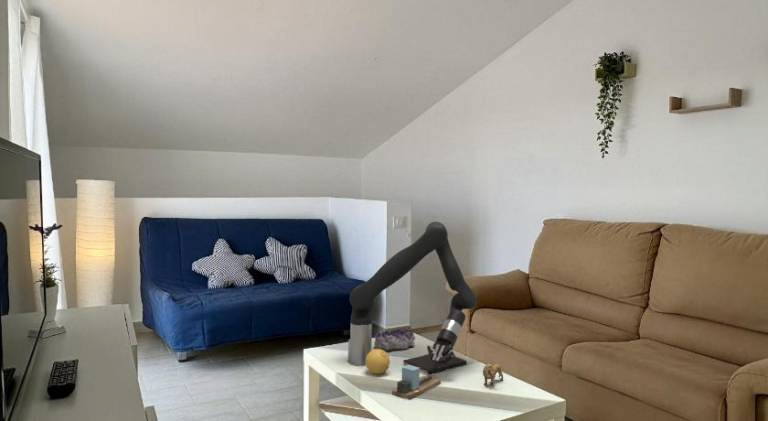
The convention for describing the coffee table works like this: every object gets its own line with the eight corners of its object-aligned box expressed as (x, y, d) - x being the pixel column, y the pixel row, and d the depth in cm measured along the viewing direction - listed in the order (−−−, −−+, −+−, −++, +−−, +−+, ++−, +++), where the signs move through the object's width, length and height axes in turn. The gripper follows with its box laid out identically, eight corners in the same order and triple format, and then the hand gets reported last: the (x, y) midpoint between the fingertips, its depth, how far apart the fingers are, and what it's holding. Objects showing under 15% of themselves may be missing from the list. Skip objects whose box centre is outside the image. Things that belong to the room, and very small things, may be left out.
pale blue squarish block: (401, 386, 206) (401, 367, 205) (407, 384, 209) (408, 364, 208) (413, 390, 202) (413, 370, 202) (419, 387, 206) (419, 367, 205)
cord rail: (392, 394, 203) (392, 380, 203) (423, 379, 220) (424, 366, 220) (409, 399, 199) (410, 385, 198) (440, 383, 215) (441, 370, 215)
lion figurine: (492, 390, 210) (493, 367, 209) (479, 387, 212) (480, 364, 212) (505, 379, 222) (506, 357, 222) (492, 376, 225) (493, 354, 225)
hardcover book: (402, 365, 237) (402, 360, 237) (440, 356, 252) (440, 351, 251) (428, 376, 225) (428, 370, 225) (466, 365, 239) (466, 360, 239)
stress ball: (382, 379, 219) (383, 354, 218) (360, 374, 223) (361, 350, 223) (393, 371, 228) (394, 347, 227) (372, 367, 232) (373, 344, 232)
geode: (405, 342, 272) (408, 322, 270) (418, 351, 262) (421, 331, 260) (369, 345, 261) (372, 325, 260) (381, 355, 252) (384, 334, 250)
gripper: (432, 325, 228) (414, 361, 219) (460, 331, 220) (443, 369, 211) (438, 335, 232) (421, 371, 223) (466, 341, 224) (450, 379, 215)
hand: (432, 370), depth 217 cm, fingers closed
